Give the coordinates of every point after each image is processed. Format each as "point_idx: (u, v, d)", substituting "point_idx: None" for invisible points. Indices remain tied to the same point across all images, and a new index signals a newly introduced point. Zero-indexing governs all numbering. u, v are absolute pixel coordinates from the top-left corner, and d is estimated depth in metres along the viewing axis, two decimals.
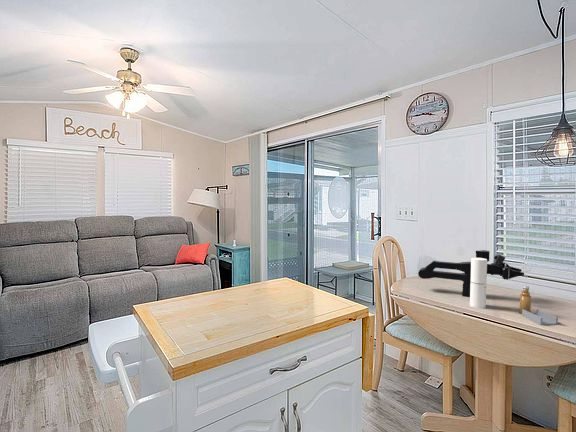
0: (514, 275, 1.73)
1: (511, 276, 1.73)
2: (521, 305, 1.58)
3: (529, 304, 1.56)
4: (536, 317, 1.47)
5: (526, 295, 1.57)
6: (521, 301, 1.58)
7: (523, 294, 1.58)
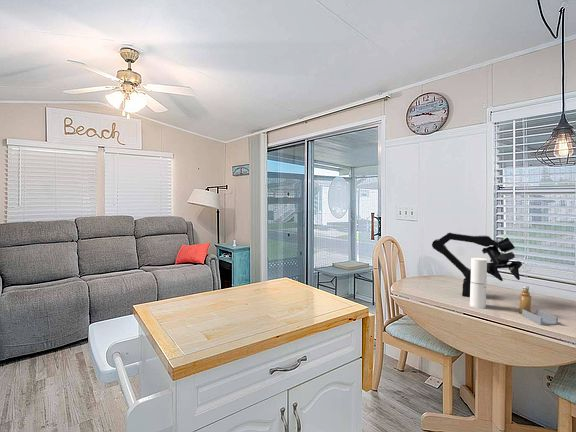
0: (494, 274, 1.73)
1: (491, 273, 1.74)
2: (521, 305, 1.58)
3: (529, 304, 1.56)
4: (536, 317, 1.47)
5: (526, 295, 1.57)
6: (521, 301, 1.58)
7: (523, 294, 1.58)
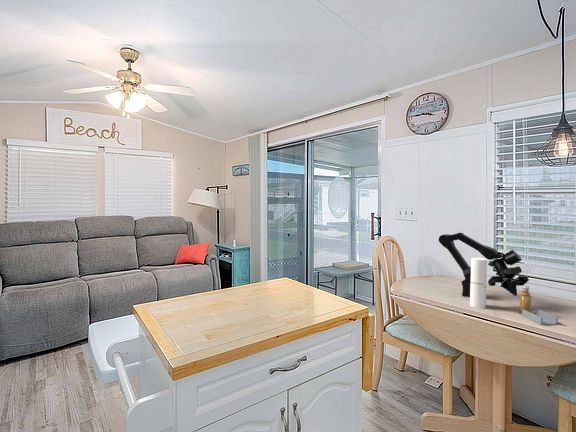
0: (507, 288, 1.69)
1: (505, 287, 1.70)
2: (521, 305, 1.58)
3: (529, 304, 1.56)
4: (536, 317, 1.47)
5: (526, 295, 1.57)
6: (521, 301, 1.58)
7: (523, 294, 1.58)
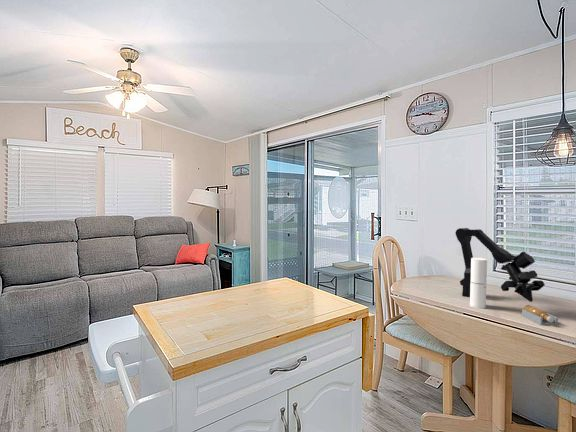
0: (522, 294, 1.59)
1: (519, 292, 1.60)
2: None
3: None
4: (536, 317, 1.47)
5: (542, 319, 1.47)
6: None
7: None
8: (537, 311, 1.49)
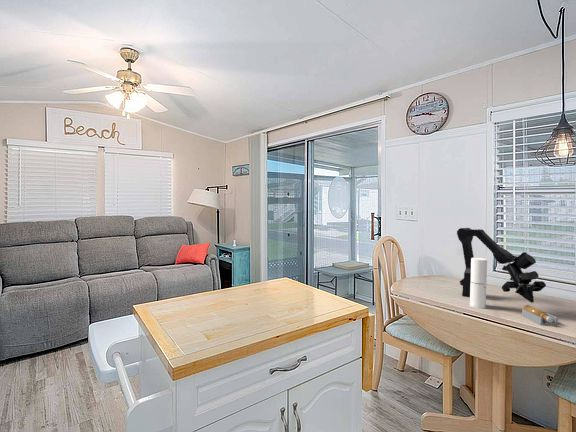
0: (523, 295, 1.58)
1: (520, 293, 1.59)
2: None
3: None
4: (536, 317, 1.47)
5: (542, 319, 1.47)
6: None
7: None
8: (536, 311, 1.49)
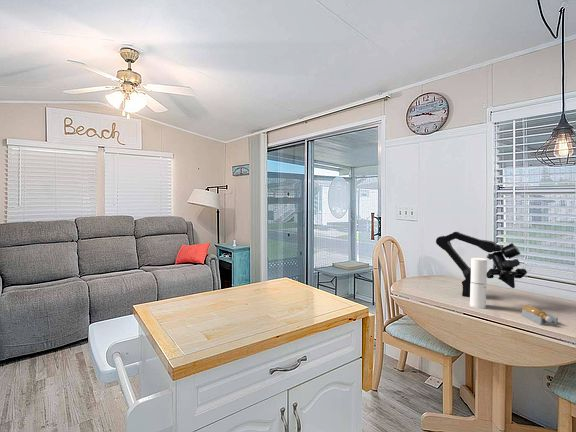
0: (505, 281, 1.70)
1: (503, 279, 1.71)
2: None
3: None
4: (536, 317, 1.47)
5: None
6: None
7: None
8: (535, 312, 1.49)
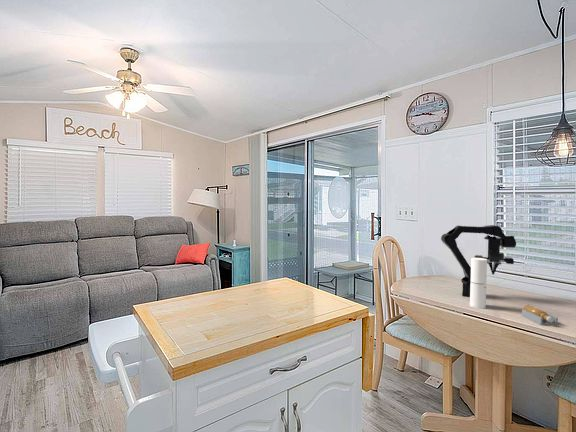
0: None
1: None
2: None
3: None
4: (536, 317, 1.47)
5: (542, 319, 1.47)
6: None
7: None
8: (536, 311, 1.49)
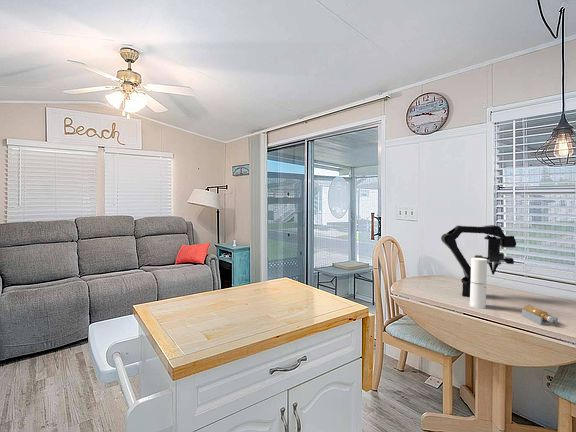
0: None
1: None
2: None
3: None
4: (536, 317, 1.47)
5: (542, 319, 1.47)
6: None
7: None
8: (537, 311, 1.49)
